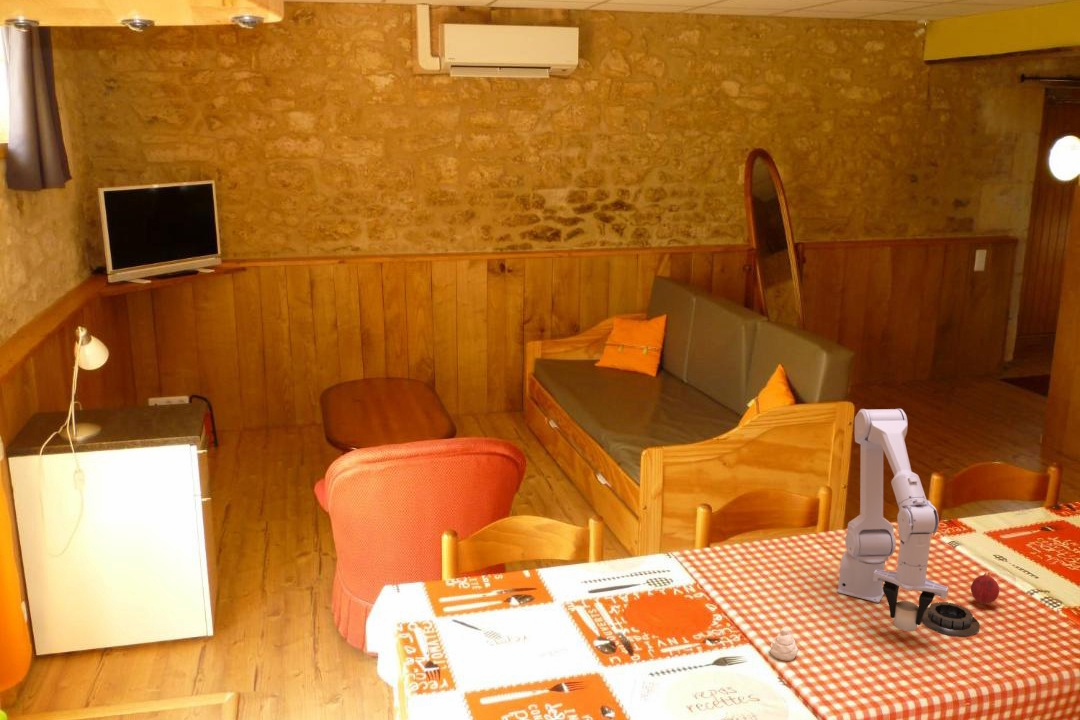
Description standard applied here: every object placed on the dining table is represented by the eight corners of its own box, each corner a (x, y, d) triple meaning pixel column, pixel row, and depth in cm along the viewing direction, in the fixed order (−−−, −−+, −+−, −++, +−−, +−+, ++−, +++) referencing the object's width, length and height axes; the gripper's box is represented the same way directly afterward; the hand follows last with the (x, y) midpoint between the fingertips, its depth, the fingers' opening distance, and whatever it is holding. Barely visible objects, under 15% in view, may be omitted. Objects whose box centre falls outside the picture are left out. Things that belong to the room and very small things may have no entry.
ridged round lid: (914, 626, 207) (916, 615, 206) (925, 604, 217) (927, 593, 216) (974, 642, 201) (976, 631, 200) (983, 618, 211) (984, 607, 210)
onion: (999, 612, 214) (1004, 579, 212) (972, 609, 215) (976, 576, 213) (993, 599, 219) (997, 567, 217) (966, 597, 220) (970, 565, 219)
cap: (891, 627, 201) (893, 607, 200) (896, 618, 205) (898, 598, 204) (914, 633, 199) (916, 613, 198) (918, 624, 203) (921, 604, 202)
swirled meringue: (777, 619, 197) (803, 626, 195) (775, 645, 199) (800, 653, 196) (768, 630, 193) (794, 638, 190) (766, 657, 194) (792, 665, 192)
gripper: (872, 558, 199) (865, 617, 202) (946, 576, 191) (938, 637, 195) (880, 546, 205) (874, 604, 208) (952, 563, 197) (945, 622, 201)
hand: (905, 619), depth 202 cm, fingers closed on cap, 5 cm apart
